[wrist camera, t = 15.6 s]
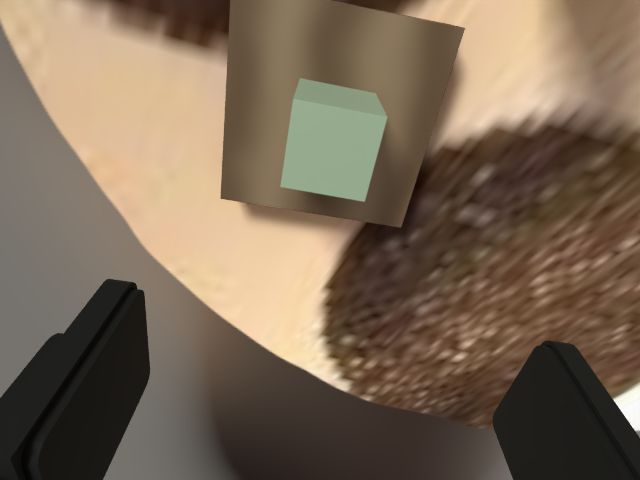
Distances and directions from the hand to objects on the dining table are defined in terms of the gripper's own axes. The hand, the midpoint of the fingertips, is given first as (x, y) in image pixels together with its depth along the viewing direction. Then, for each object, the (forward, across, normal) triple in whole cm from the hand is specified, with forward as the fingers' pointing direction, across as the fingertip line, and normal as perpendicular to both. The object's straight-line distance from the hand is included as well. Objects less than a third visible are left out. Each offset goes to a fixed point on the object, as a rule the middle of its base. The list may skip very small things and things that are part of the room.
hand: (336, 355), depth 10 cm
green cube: (+21, 0, 0) cm, 21 cm away
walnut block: (+25, 0, 0) cm, 25 cm away
